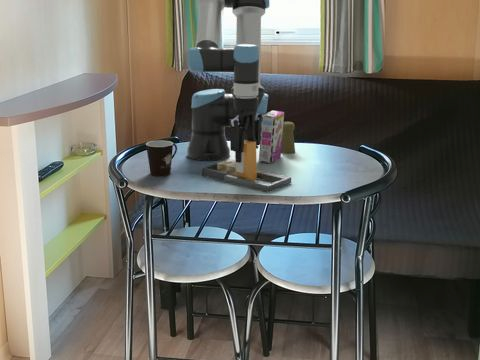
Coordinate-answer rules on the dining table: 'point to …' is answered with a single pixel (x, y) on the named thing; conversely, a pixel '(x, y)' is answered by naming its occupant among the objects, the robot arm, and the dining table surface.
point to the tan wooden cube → (231, 169)
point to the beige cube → (223, 166)
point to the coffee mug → (160, 157)
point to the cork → (288, 138)
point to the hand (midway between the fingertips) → (245, 170)
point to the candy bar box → (271, 136)
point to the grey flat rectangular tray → (258, 185)
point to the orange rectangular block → (249, 160)
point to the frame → (213, 172)
